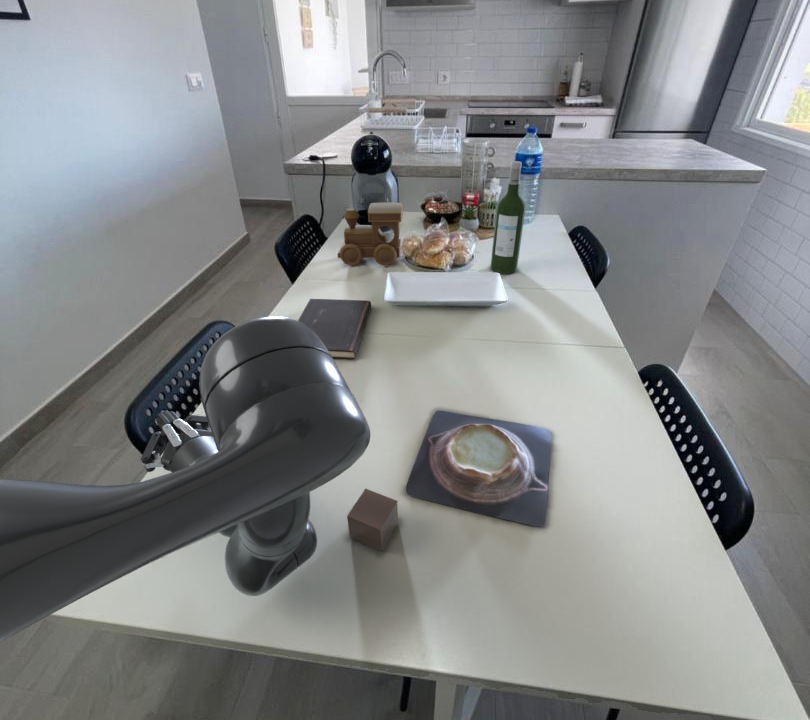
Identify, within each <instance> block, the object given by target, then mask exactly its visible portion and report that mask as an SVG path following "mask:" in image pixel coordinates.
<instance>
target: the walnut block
mask: <svg viewBox="0 0 810 720" xmlns="http://www.w3.org/2000/svg"><path fill="white" fill-rule="evenodd" d="M398 509H399V507H398V500H396V499H394V498H391V497H389V496H386V495H383V494H381V493H378V492H376V491H373V490H371V489H368V488H364V489H363V491H362V493H361V494H360V496H359V497H358V498H357V500H356V502H355V503H354V505H353V506H352V508H351V509H350V511H349V512H348V513H347V515H346V518H347V519H346V520H347V526H348V534H349V539H351V540H354V541H355V542H358V543H360V544H362V545H364V546H367V547H369V548H371V549H374V550H376V551H378V552H380V553H383V551H384V549H385V547H386V546H387V544H388V542H389V540H390V538H391V537H392V535H393V534H394V531H395V529H396V528H397V526H398V524H399V511H398Z"/></svg>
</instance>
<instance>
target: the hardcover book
mask: <svg viewBox="0 0 810 720" xmlns="http://www.w3.org/2000/svg"><path fill="white" fill-rule="evenodd" d="M372 305H373V304H372V302H371V300H368V299H367V300H364V299H332V298H331V299H330V298H309V301H308V302H307V303H306V305H305V307H304V309H303V311H302V313H301V314H300V316H299V318H298V319H297V321H299V322H301V323H303V324H305V325H306V326H308V327H309V328H310V329H311V330H312V331H314V332H315V333H316V334H317V336H318V337H319V338H320V339H321V341H322V342H323V344H324V345H325V346H326V348H327V349H328V351H329V352H330V354H331V356H332V357H333V360H335V359H336V360H354V359H356V356H357V353H358V351H359V348H360V344H361V341H362V338H363V335H364V331H365V328H366V326H367V322H368V320H369V316H370V313H371V310H372Z"/></svg>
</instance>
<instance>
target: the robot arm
mask: <svg viewBox="0 0 810 720" xmlns="http://www.w3.org/2000/svg"><path fill="white" fill-rule="evenodd" d="M200 366H201V367H200V372H199V377H198V382H199V383H198V385H199V395H200V400H201V404H202V408H203V410H204V414H205V415H196V414H195V415H194V414H190V415H187V416H186V417H185V418H184V419H181V418H180V417H179V416H178V415H177V414H176V413H175V412H174V411H172V410H171V411H168V409H167V410H164V411H161V412H159V413H157V416H158V417H156V418H155V422H156V424H157V426H158V428H159V429H160V431H155V432H153V433H152V434H151V436H150V438H149V441H148V443H147V445H146V446H145V448H144V451H143V453H142V455H141V457H140V461H141V463H142V465H143V467H144V469H145V471H146V472H147V473H152V472H154V471H155V470H156V468H163V470H165V471H166V472H167V471H168V472H169V473H166V474H163V475H159V476H156V477H153V478H150V479H146V480H144V481H139V482H133V483H128V484H127V483H126V484H115V485H114V484H113V485H111V484H110V485H100V484H99V485H98V484H97V485H94V484H77V483H65V482H55V481H45V480H44V481H43V480H42V481H41V480H34V479H33V480H32V479H9V478H0V643H2V642H3V641H5V640H7V639H9V638H11V637H13V636H15V635H17V634H18V633H20V632H22V631H23V630H26V629H27V628H29V627H31V626H33V625H34V624H36V623H38V622H39V621H42V620H44V619H45V618H47V617H49V616H51V615H52V614H54V613H56V612H58V611H60V610H62V609H63V608H65V607H67V606H70V605H72V604H73V603H75V602H76V601H78V600H81V599H82V598H84V597H86V596H88V595H90V594H92V593H94V592H96V591H97V590H100V589H102V588H104V587H105V586H107V585H109V584H111V583H113V582H115V581H118V580H119V579H122V578H123V577H125V576H127V575H129V574H131V573H133V572H135V571H137V570H139V569H141V568H143V567H145V566H147V565H149V564H151V563H154V562H156V561H158V560H160V559H162V558H164V557H166V556H168V555H171V554H174V553H175V552H177V551H180V550H182V549H184V548H186V547H190V546H191V545H194V544H196V543H198V542H201V541H202V540H205V539H208V538H210V537H212V536H214V535H216V534H220V535H221V536H223V537H225V538H228V541H227V544H226V547H225V551H224V568H225V572H226V575H227V577H228V579H229V581H230V583H231V584H232V586H233V587H234V588H235V589H236V590H237V591H238V592H239V593H241V594H243V595H245V596H248V597H258V596H261V595H264V594H266V593H268V592H269V591H271V590H272V589H273V588H275V587H276V586H277V585H278V584H279V583H281V582H282V581H283V580H284V579H286V578H287V577H288V576H290V575H291V574H293V572H294V571H296V570H297V569H299V568H300V567H301V566H302V565H304V564H305V563H306V562H307V561H308V560H310V559H311V558H312V557H313V555H314V554H315V552H316V550H317V546H318V535H317V531H316V529H315V526H314V524H313V523H312V521H311V520H310V515H311V514H310V513H311V505H312V504H311V503H312V502H311V492H312V491H315V490H316V489H319V488H321V487H322V486H324V485H326V484H327V483H329V482H331V481H332V480H334V479H335V478H337V477H339V476H340V475H342V474H343V473H344V472H346V471H347V470H349V469H350V468H351V467H352V466H353V465H354V464H355V463H356V462H357V461H358V460H359V459H360V458H361V457H362V456H363V455H364V453H365V452H366V450H367V449H368V447H369V445H370V442H371V436H372V435H371V429H370V426H369V423H368V420H367V418H366V417H365V414H364V412H363V411H362V408H361V407H360V405H359V403H358V400H357V399H356V397H355V394H353V392H352V391H351V388H350V387H349V385H348V383H347V382H346V380H345V377H344V376H343V374H342V373H341V371H340V369H339V367H338V365H337V364H336V362H335V359H333V357H332V356H331V354H330V352H329V351H328V349H327V348H326V346H325V345H324V344H323V342H322V341H321V339H320V338H319V337H318V336H317V334H316V333H315V332H314V331H312V330H311V329H310V328H309V327H308V326H306V325H305V324H303V323H301V322H299V321H298V319H294V318H291V317H286V316H273V315H272V316H265V317H258V318H257V317H256V318H253V319H249V320H247V321H245V322H243V323H240V324H238V325H236V326H233V327H232V328H231V329H228V330H227V331H225V333H223V334H222V335H221V336H220V337H218V339H217V340H215V341H214V342H213V344H211V347H210V348H208V351H207V352H206V354H205V356H204V359H203V360H202V363H201V365H200Z"/></svg>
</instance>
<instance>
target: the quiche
mask: <svg viewBox="0 0 810 720" xmlns="http://www.w3.org/2000/svg"><path fill="white" fill-rule="evenodd" d="M422 439H423V440H422V442H421V445H420V447H419V450H418V453H417V456H416V458H415V461H414V463H413V465H412V469H411V471H410V474H409V477H408V479H407V482H406V485H405V492H406V494H407V495H408V496H409V497H412V498H413V497H414V498H417V499H421V500H425V501H428V502H432V503H436V504H440V505H444V506H448V507H452V508H456V509H460V510H464V511H468V512H473V513H477V514H481V515H485V516H489V517H493V518H498V519H502V520H507V521H510V522H515V523H520V524H523V525H528V526H533V527H538V528H539V527H540V528H541V527H544V526H545V524H546V521H547V508H548V492H549V476H550V463H551V448H552V447H551V446H552V432H551V430H550V429H548V428H544V427H540V426H536V425H530V424H525V423H519V422H513V421H508V420H501V419H496V418H489V417H483V416H475V415H468V414H464V413H463V414H462V413H459V412H452V411H448V410H447V411H446V410H436V411H434V413H433V415H432V418H431V420H430V422H429V424H428V427H427V430H426V432H425V435H424V437H423V438H422Z"/></svg>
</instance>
